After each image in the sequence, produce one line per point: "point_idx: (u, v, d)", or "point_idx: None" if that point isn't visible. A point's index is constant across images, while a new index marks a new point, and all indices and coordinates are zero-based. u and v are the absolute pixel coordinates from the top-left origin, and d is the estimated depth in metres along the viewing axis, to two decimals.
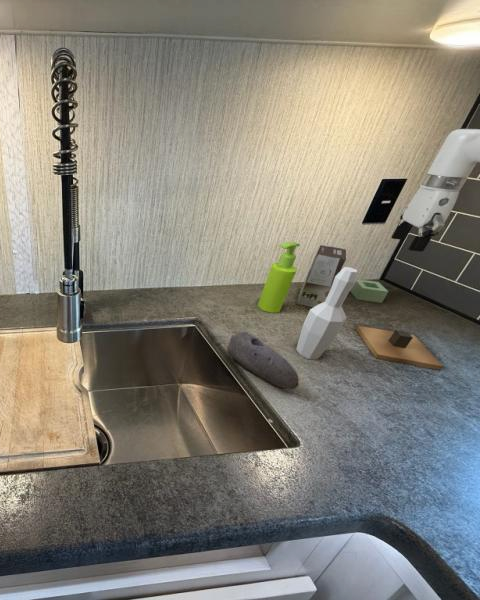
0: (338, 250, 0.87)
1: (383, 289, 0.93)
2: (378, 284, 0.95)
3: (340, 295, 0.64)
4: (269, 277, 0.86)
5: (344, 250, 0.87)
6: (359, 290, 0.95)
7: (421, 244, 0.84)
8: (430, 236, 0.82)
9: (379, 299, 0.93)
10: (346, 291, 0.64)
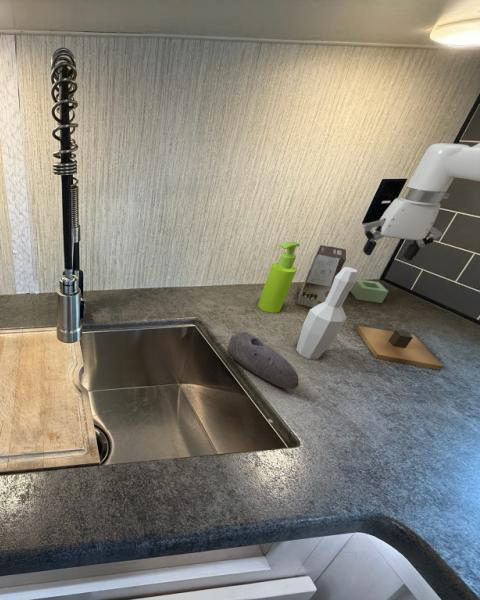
0: (338, 250, 0.87)
1: (383, 289, 0.93)
2: (378, 284, 0.95)
3: (340, 295, 0.64)
4: (269, 277, 0.86)
5: (344, 250, 0.87)
6: (359, 290, 0.95)
7: None
8: None
9: (379, 299, 0.93)
10: (346, 291, 0.64)
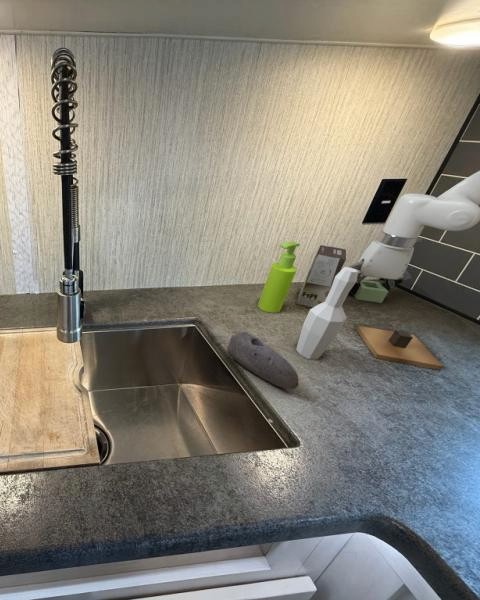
0: (338, 250, 0.87)
1: (383, 289, 0.93)
2: (378, 284, 0.95)
3: (340, 295, 0.64)
4: (269, 277, 0.86)
5: (344, 250, 0.87)
6: (359, 290, 0.95)
7: None
8: None
9: (379, 299, 0.93)
10: (346, 291, 0.64)
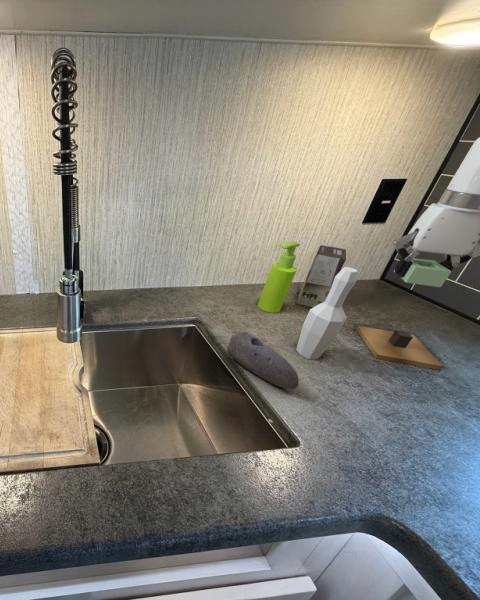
0: (338, 250, 0.87)
1: (444, 269, 0.70)
2: (435, 263, 0.73)
3: (340, 295, 0.64)
4: (269, 277, 0.86)
5: (344, 250, 0.87)
6: (410, 270, 0.72)
7: None
8: None
9: (438, 282, 0.71)
10: (346, 291, 0.64)
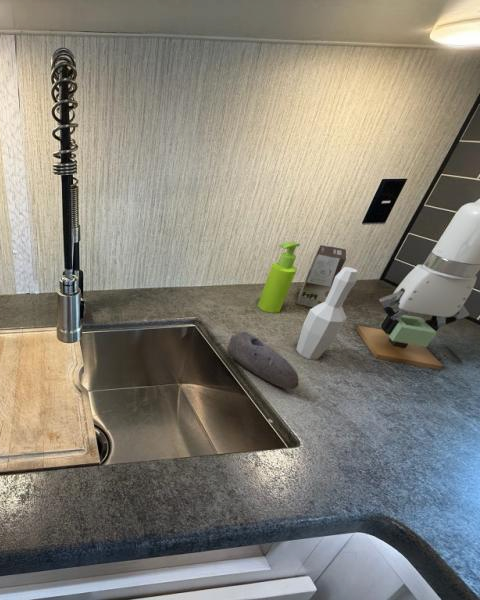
0: (338, 250, 0.87)
1: (429, 329, 0.69)
2: (421, 321, 0.72)
3: (340, 295, 0.64)
4: (269, 277, 0.86)
5: (344, 250, 0.87)
6: (396, 329, 0.71)
7: None
8: None
9: (423, 342, 0.70)
10: (346, 291, 0.64)
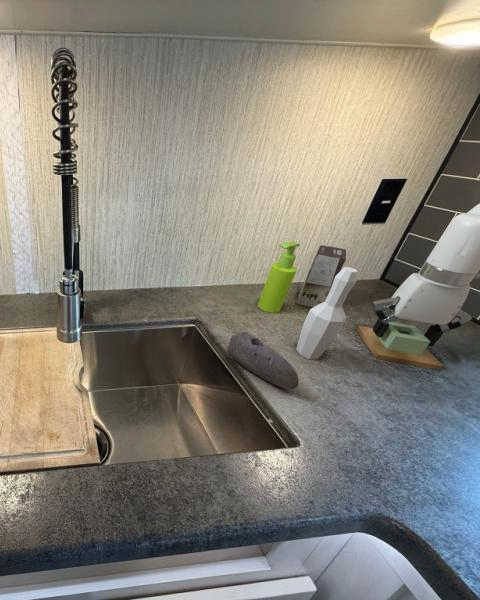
0: (338, 250, 0.87)
1: (423, 338, 0.71)
2: (415, 330, 0.73)
3: (340, 295, 0.64)
4: (269, 277, 0.86)
5: (344, 250, 0.87)
6: (390, 338, 0.73)
7: None
8: None
9: (417, 350, 0.71)
10: (346, 291, 0.64)
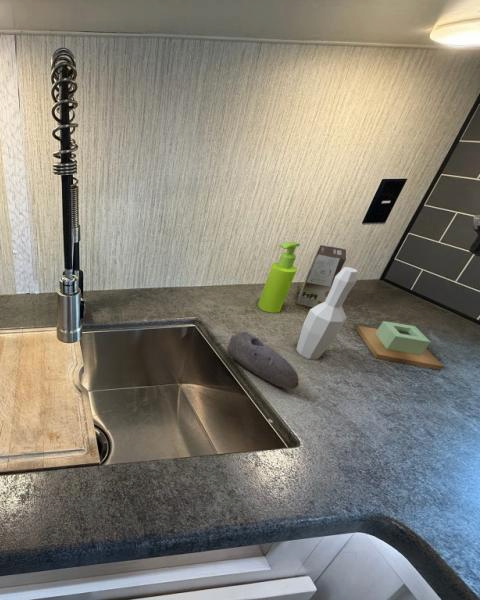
0: (338, 250, 0.87)
1: (423, 338, 0.71)
2: (415, 330, 0.73)
3: (340, 295, 0.64)
4: (269, 277, 0.86)
5: (344, 250, 0.87)
6: (390, 338, 0.73)
7: None
8: None
9: (417, 350, 0.71)
10: (346, 291, 0.64)
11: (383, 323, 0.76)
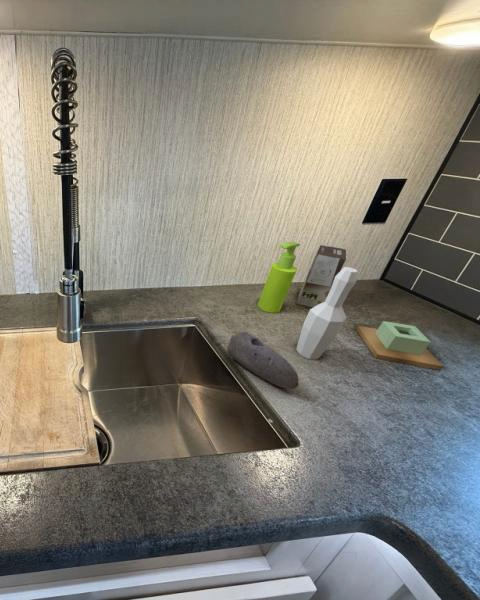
0: (338, 250, 0.87)
1: (423, 338, 0.71)
2: (415, 330, 0.73)
3: (340, 295, 0.64)
4: (269, 277, 0.86)
5: (344, 250, 0.87)
6: (390, 338, 0.73)
7: None
8: None
9: (417, 350, 0.71)
10: (346, 291, 0.64)
11: (383, 323, 0.76)
